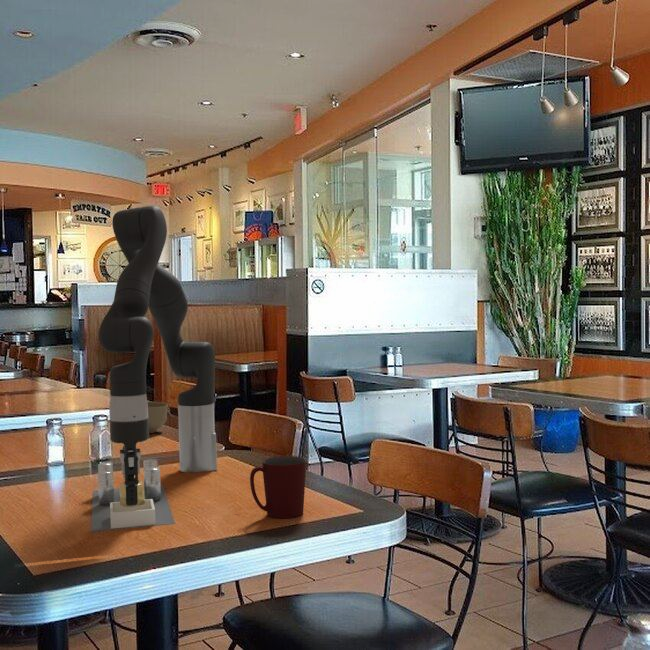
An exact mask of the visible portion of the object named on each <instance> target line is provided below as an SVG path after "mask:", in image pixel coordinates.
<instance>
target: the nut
mask: <svg viewBox="0 0 650 650" xmlns="http://www.w3.org/2000/svg"><path fill="white" fill-rule="evenodd" d="M119 488H120V505H121V506H123V507H135V506H140V505H143V504H144V503H145V493H144V481H141V480H139V484H138V486H137V494H138V504H137V505H131V506H128V505H127V504H126V487H125V485H124V482H120V483H119Z"/></svg>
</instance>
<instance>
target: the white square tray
mask: <svg viewBox="0 0 650 650" xmlns="http://www.w3.org/2000/svg"><path fill="white" fill-rule="evenodd" d="M110 519H111V529H112V528H123V527H134V526H144V525H155V507H154V503H153V499H146V500H145V503H144V504H143V505H140V506H135V507H123V506H121V505H120V502H111V503H110Z"/></svg>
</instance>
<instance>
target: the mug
mask: <svg viewBox="0 0 650 650" xmlns="http://www.w3.org/2000/svg"><path fill="white" fill-rule="evenodd" d="M261 463H262V466H255V467H254V468H252V470H251V472H250V474H249V485H250V490H251V495H252V498H253V499H254V502H255V504H256V505H257V506H258V507H259V508H260V510H263V511H264V512H266V513H267V514H266V515H267V516H268V517H271V518H274V519H292V518H298V517H301V516H302V515H303V514H304V506H305V505H304V504H305V492H306V491H305V489H306V470H307V469H306V464H307V463H306V459H305V458H303V457H301V456H293V455H292V456H291V455H290V456H289V455H284V456H282V455H281V456H273V457H267V458H265V459H263V460H262V462H261ZM258 472H262V477H263V485H264V486H263V487H264V488H263V489H264V496H265V498H264V499H265V505H263V504H262V503H261V501H260V500H259V497H258V495H257V492H256V488H255V474H256V473H258Z"/></svg>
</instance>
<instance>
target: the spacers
mask: <svg viewBox="0 0 650 650" xmlns="http://www.w3.org/2000/svg"><path fill="white" fill-rule="evenodd" d="M142 461H143V463H142V464H143V467H142V468H143V482H144V492H146V499H153V502H158V501H160V500H161V485H162V484H161V467H158V466H159V465H158V459H156V458H155V459H154V458H151V459H150V458H149V459H144V460H142ZM113 465H114V464H113V462H100V463H98V464H97V467H98V468H97V471H98V472H97V484H98V486H97V487H98V488H97V490H98V493H99V506H110V503H111V502H114V489H115V488H114V466H113Z"/></svg>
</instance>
